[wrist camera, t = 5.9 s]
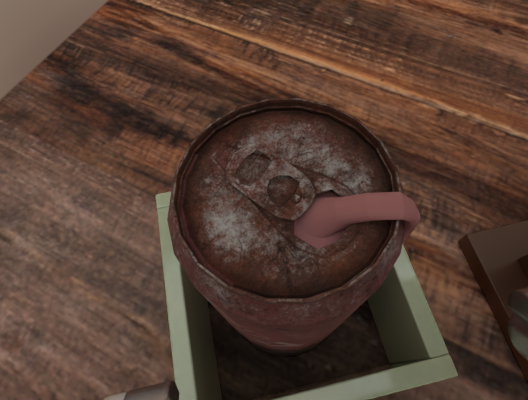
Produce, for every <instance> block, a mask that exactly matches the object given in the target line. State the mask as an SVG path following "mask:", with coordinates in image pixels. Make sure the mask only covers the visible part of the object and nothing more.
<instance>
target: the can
mask: <svg viewBox="0 0 528 400" xmlns="http://www.w3.org/2000/svg"><path fill="white" fill-rule="evenodd" d="M167 221H168V226H169V231H170V236H171V241H172V246H173V251H174V255H175V256H176V258H177V260H178V261H179V263H180V264H181V266H182V268H183V269H184V271H185V273H186V274H187V276H188V277H189V279H190V281H191V282H192V284H193V286H194V287H195V288H196V289H197V290H198V291H199V292H200V293H201V294H202V295H203V296H204V297H205V298H206V299H207V300H208V301H209V302H210V303H211V304H212V305H213V306H214V308H215V309H216V310H217V311H218V312H219V313H220V314H221V315H222V316H223V317H224V318H225V319H226V320H227V321H228V322H229V323H230V324H231V325H232V326H233V327H234V328H235V329H236V330H237V331H238V333H239V334H240V335H241V336H242V337H243V338H244V339H245V340H247V341H248V342H249V343H250V344H252V345H253V346H254V347H255V348H257V349H258V350H260V351H263V352H265V353H268V354H271V355H273V356H296V355H299V354H302V353H305V352H308V351H311V350H312V349H313V348H315V347H316V346H317V345H318V344H320V343H321V342H322V341H323V340H325V339H326V338H327V337H328V336H329V335H330V334H331V333H332V332H333V331H334V330H335V329H336V328H337V327H338V326H340V325H341V324H342V323H343V322H344V321H345V320H346V319H347V318H348V317H349V316H350V315H351V314H352V313H353V312H354V311H355V310H356V309H357V308H359V307H360V306H361V305H362V304H363V303H364V302H365V301H366V300H367V299H368V298H369V297H370V296H371V295H372V294H373V293H374V292H375V291H377V290H378V289H379V288H380V287H381V285H382V284H383V282H384V280H385V279H386V277H387V275H388V274H389V272H390V270H391V269H392V267H393V266H394V264H395V262H396V261H397V259H398V257H399V256H400V254H401V249H402V244H403V243H404V242H405V241H406V239H407V238H408V237H409V235H410V234H411V233H412V231H413V230H414V229H415V227H416V226H417V225H418V223H419V222H420V213H419V211H418V209H417V207H416V204H415V202H414V201H413V200H412V199H410V198H409V197H407V196H405V195H404V194H403V193H402V187H401V184H400V180H399V174H398V169H397V167H396V166H395V164H394V162H393V160H392V158H391V157H390V155H389V153H388V151H387V149H386V148H385V146H384V144H383V142H382V141H381V140H380V139H379V138H378V137H377V136H376V135H375V134H374V133H373V132H371V131H370V130H369V129H368V128H367V127H366V126H365V125H364V124H363V123H362V122H361V121H360V120H358V119H356V118H355V117H353V116H351V115H349V114H347V113H345V112H343V111H341V110H339V109H337V108H335V107H333V106H331V105H328V104H323V103H319V102H315V101H310V100H306V99H301V98H284V99H266V100H262V101H259V102H255V103H251V104H247V105H244V106H240V107H237V108H236V109H234V110H232V111H230V112H229V113H227V114H225V115H223V116H222V117H220V118H218V119H216V120H215V121H213V122H211V123H210V124H209V125H208V126H207V127H206V128H205V129H204V130H203V131H202V132H201V133H200V134H199V135H198V136H197V137H196V138H195V139H194V140H193V141H192V143H191V144H190V145H189V147H188V149H187V151H186V153H185V154H184V156H183V158H182V160H181V162H180V164H179V166H178V168H177V170H176V173H175V180H174V184H173V186H172V190H171V197H170V204H169V211H168V218H167Z"/></svg>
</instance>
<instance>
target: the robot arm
mask: <svg viewBox="0 0 528 400" xmlns="http://www.w3.org/2000/svg"><path fill="white" fill-rule="evenodd" d="M508 307H509V308H510V309H511V310H512V311H513V312H514V313H513V314H512V316H511V317H510V319H509V321H508V334H509V337H510V339H511V341H512V344H513V345H514V347H515V348H516V349H517V351H518V352H519V353H520V354H521V355H522V356H523V357H524V358H525V359H526V360H527V361H528V287H527V288H523V289H519V290H516V291H512V292H511V294H510V296H509V298H508ZM179 394H180V393H179V390H178V388H177V386H176V383H175V382H174V381H168V382H164V383H160V384H155V385H151V386H147V387H143V388H138V389H134V390H130V391H128V392H124V393H119V394H115V395H111V396H107V397H106V398H105V399H104V400H179Z"/></svg>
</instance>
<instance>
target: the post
mask: <svg viewBox="0 0 528 400" xmlns="http://www.w3.org/2000/svg"><path fill="white" fill-rule="evenodd" d="M458 243H459V245H460V247H461V249H462V251H463V253H464V255H465V257H466V259H467V261H468V263H469V265H470V267H471V269H472V271H473V273H474V275H475V277H476V279H477V281H478V283H479V285H480V287H481V289H482V291H483V293H484V295H485V297H486V299H487V301H488V303H489V305H490V307H491V309H492V311H493V313H494V315H495V317H496V319H497V321H498V323H499V325H500V327H501V329H502V331H503V333H504V335H505V337H506V339H507V341H508V343H509V345H510V347H511V349H512V351H513V353H514V355H515V357H516V359H517V361H518V363H519V365H520V367H521V370H522V372H523V374H524V376H525V378H526V380H527V382H528V361H527V360H526V359H525V358H524V357H523V356H522V355H521V354H520V353H519V352H518V351H517V349H516V348H515V347H514V345H513V344H512V341H511V339H510V337H509V334H508V321H509V319H510V317H511V316H512V314H513V313H514V312H513V311H512V310H511V309H510V308H509V307H508V298H509V296H510V294H511V292H512V291H516V290H519V289H523V288H527V287H528V220H526V221H522V222H518V223H514V224H509V225H505V226H501V227H497V228H493V229H488V230H484V231H480V232H476V233H472V234H467V235H466V236H464V237H463V238H462V239H461V240H459V241H458Z"/></svg>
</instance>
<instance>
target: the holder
mask: <svg viewBox="0 0 528 400" xmlns="http://www.w3.org/2000/svg"><path fill="white" fill-rule="evenodd" d="M170 197H171V191H170V192H166V193H161V194H157V195H156V206H157V209H158V210H157V215H158V224H159V234H160V244H161V253H162V263H163V273H164V283H165V292H166V302H167V312H168V321H169V331H170V341H171V350H172V360H173V370H174V380H175V383H176V386H177V388H178V390H179V393H180V394H179V400H222V394H221V388H220V381H219V375H218V368H217V362H216V355H215V349H214V342H213V336H212V329H211V322H210V316H209V309H208V303H207V299H206V298H205V297H204V296H203V295H202V294H201V293H200V292H199V291H198V290H197V289H196V288H195V287H194V286H193V284H192V282H191V281H190V279H189V277H188V276H187V274H186V273H185V271H184V269H183V268H182V266H181V264H180V263H179V261H178V260H177V258H176V256H175V255H174V251H173V246H172V241H171V236H170V231H169V226H168V221H167V218H168V211H169V204H170ZM367 300H368V303H369V306H370V309H371V312H372V315H373V318H374V320H375V323H376V326H377V329H378V332H379V335H380V338H381V340H382V343H383V346H384V349H385V352H386V355H387V358H388V360H389V363H390V364H388V365H385V366H381V367H377V368H373V369H369V370H365V371H361V372H357V373H353V374H349V375H346V376H342V377H338V378H334V379H330V380H326V381H322V382H318V383H314V384H310V385H306V386H303V387H299V388H295V389H291V390H287V391H283V392H279V393H275V394H271V395H267V396H264V397H260V398H256V399H252V400H369V399H373V398H377V397H381V396H385V395H389V394H392V393H396V392H400V391H404V390H408V389H412V388H415V387H419V386H423V385H427V384H431V383H435V382H438V381H442V380H446V379H450V378H454V377H457V376H458V373H457V371H456V368H455V366H454V364H453V361H452V359H451V357H450V355H449V354H448V350H447V347H446V345H445V342H444V340H443V338H442V335H441V333H440V331H439V328H438V326H437V324H436V321H435V319H434V316H433V314H432V312H431V309H430V307H429V305H428V302H427V300H426V298H425V295H424V293H423V290H422V288H421V286H420V283H419V281H418V279H417V276H416V274H415V272H414V269H413V267H412V264H411V262H410V260H409V257H408V255H407V253H406V250H405V248H404V245H403V244H402V249H401V254H400V256H399V257H398V259H397V261H396V262H395V264H394V266H393V267H392V269H391V270H390V272H389V274H388V275H387V277H386V279H385V280H384V282H383V284H382V285H381V287H380V288H379V289H378V290H377V291H375V292H374V293H373V294H372V295H371V296H370V297H369V298H368V299H367Z"/></svg>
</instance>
